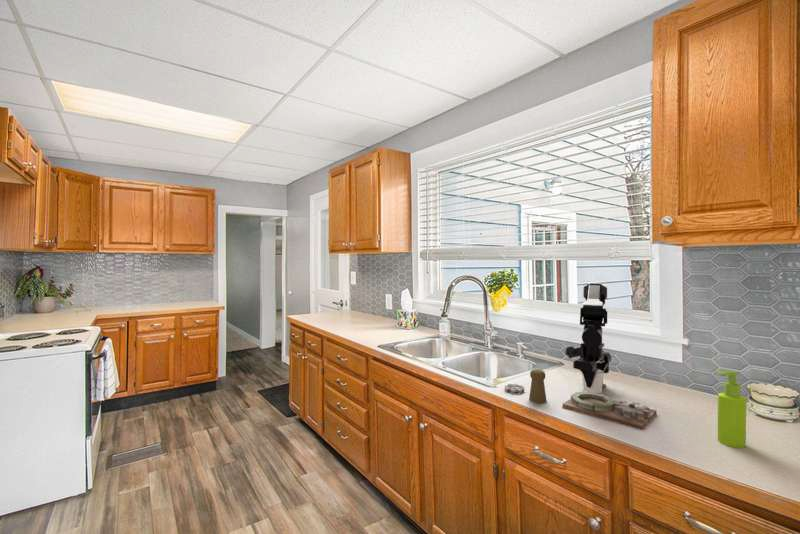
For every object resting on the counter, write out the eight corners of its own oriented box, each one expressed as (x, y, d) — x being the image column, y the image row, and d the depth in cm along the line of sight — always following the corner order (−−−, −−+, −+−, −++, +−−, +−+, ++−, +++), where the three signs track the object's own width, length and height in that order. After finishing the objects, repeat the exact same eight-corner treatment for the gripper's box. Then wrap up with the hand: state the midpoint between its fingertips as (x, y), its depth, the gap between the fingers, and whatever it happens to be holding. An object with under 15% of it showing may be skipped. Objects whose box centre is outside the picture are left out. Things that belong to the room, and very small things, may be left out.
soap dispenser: (708, 438, 108) (709, 368, 107) (731, 437, 108) (731, 367, 108) (728, 448, 102) (729, 375, 101) (751, 447, 102) (752, 374, 102)
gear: (507, 386, 152) (507, 382, 152) (525, 389, 149) (525, 385, 149) (503, 392, 146) (503, 388, 146) (522, 395, 143) (522, 391, 142)
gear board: (580, 395, 142) (581, 384, 142) (656, 414, 124) (656, 402, 124) (562, 407, 131) (562, 395, 131) (642, 429, 113) (642, 416, 113)
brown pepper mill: (548, 404, 134) (548, 373, 133) (530, 402, 135) (530, 372, 135) (545, 397, 140) (545, 368, 139) (527, 396, 141) (527, 367, 141)
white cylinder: (578, 390, 131) (578, 370, 131) (585, 385, 136) (585, 366, 136) (600, 395, 126) (600, 374, 126) (606, 389, 131) (606, 369, 131)
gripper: (579, 333, 143) (579, 373, 143) (557, 341, 130) (557, 386, 131) (611, 337, 135) (611, 380, 135) (592, 346, 122) (591, 394, 122)
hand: (592, 385), depth 131 cm, fingers closed on white cylinder, 6 cm apart
